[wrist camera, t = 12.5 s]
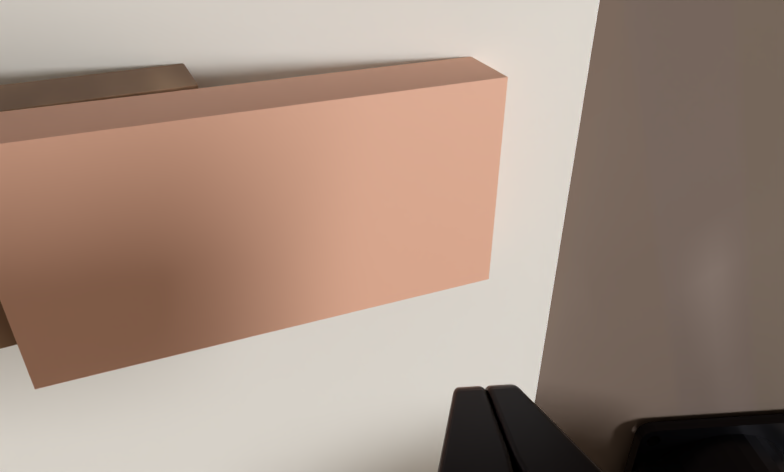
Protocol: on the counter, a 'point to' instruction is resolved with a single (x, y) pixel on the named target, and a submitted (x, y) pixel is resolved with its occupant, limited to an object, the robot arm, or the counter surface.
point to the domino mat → (340, 333)
